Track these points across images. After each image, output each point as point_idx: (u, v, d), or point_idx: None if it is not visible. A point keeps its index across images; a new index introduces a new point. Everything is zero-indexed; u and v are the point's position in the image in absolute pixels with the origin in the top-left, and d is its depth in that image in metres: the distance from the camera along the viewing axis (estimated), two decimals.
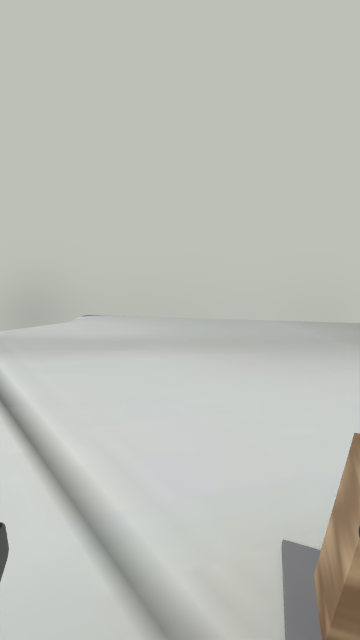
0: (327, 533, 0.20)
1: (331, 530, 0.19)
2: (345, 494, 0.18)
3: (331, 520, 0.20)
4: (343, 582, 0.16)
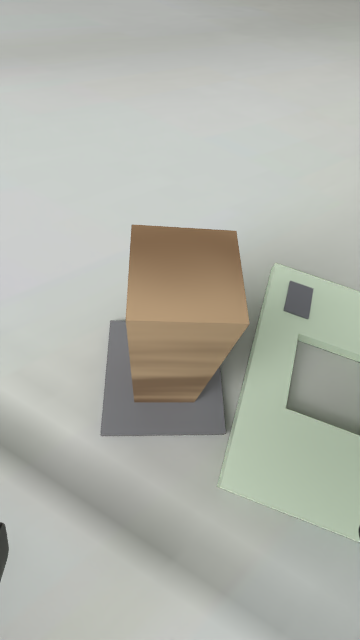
0: None
1: None
2: None
3: None
4: (132, 377, 0.16)
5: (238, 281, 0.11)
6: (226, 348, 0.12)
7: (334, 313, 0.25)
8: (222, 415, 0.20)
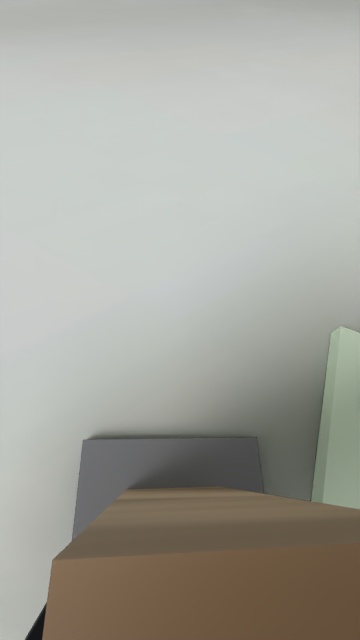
0: None
1: None
2: None
3: None
4: None
5: None
6: None
7: None
8: None
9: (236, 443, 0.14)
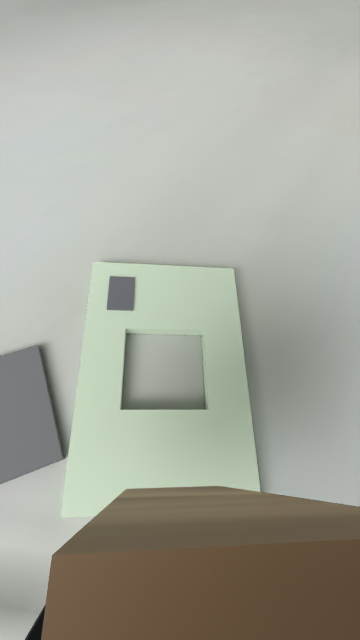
0: None
1: None
2: None
3: None
4: None
5: None
6: None
7: (159, 296, 0.25)
8: (56, 441, 0.20)
9: (23, 353, 0.22)
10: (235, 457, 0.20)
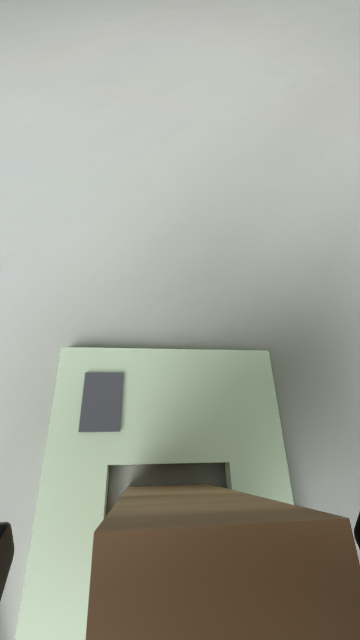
0: None
1: None
2: None
3: None
4: None
5: None
6: None
7: (160, 402, 0.16)
8: None
9: None
10: None
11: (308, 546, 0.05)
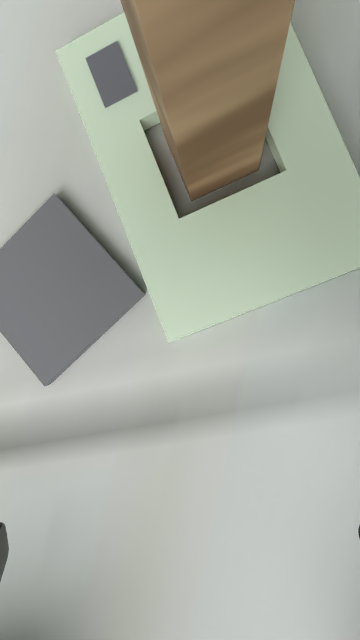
0: (148, 84, 0.13)
1: (147, 78, 0.13)
2: (124, 2, 0.09)
3: (141, 62, 0.12)
4: (175, 145, 0.12)
5: None
6: None
7: None
8: (128, 280, 0.17)
9: (45, 209, 0.18)
10: (341, 211, 0.15)
11: None
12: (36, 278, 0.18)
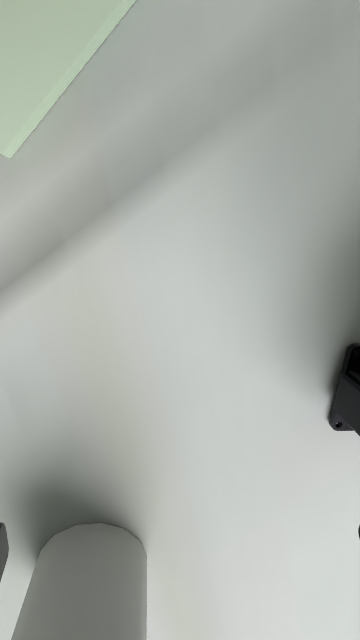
0: None
1: None
2: None
3: None
4: None
5: None
6: None
7: None
8: None
9: None
10: None
11: None
12: None
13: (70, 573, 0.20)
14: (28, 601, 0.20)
